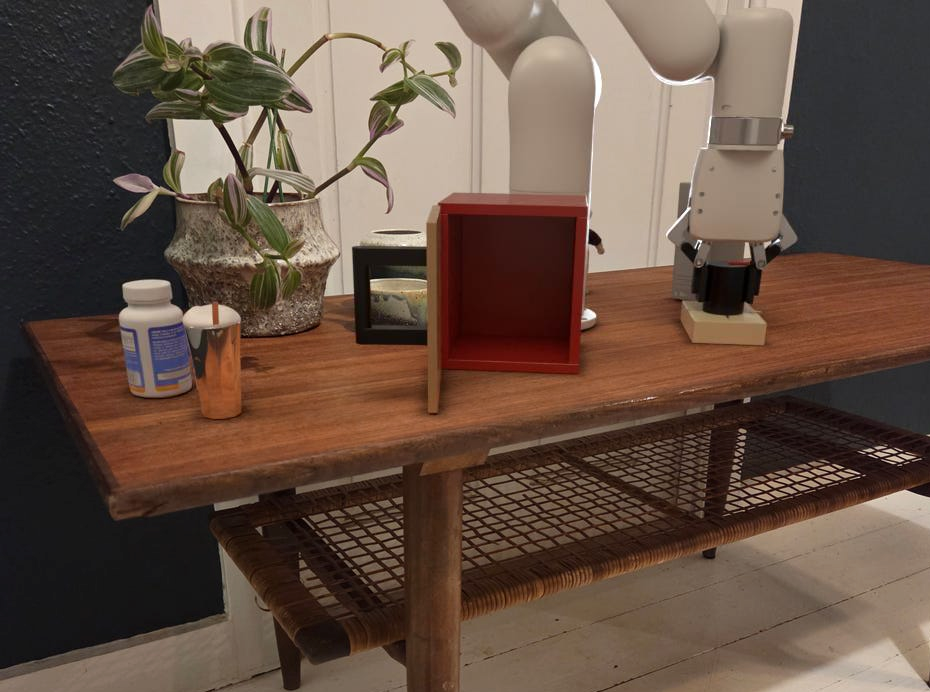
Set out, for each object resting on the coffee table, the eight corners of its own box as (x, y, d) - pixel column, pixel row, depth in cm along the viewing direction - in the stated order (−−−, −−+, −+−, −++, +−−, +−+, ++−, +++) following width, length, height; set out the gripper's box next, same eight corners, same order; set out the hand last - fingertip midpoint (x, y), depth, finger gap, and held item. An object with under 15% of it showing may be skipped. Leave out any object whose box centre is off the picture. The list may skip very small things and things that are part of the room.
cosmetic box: (707, 306, 119) (721, 183, 113) (665, 298, 124) (676, 180, 118) (742, 299, 125) (757, 181, 119) (700, 291, 130) (713, 178, 123)
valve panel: (676, 320, 111) (678, 299, 110) (748, 322, 110) (751, 301, 109) (687, 342, 100) (690, 319, 99) (768, 345, 99) (771, 322, 98)
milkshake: (198, 427, 71) (184, 304, 67) (190, 408, 76) (176, 291, 72) (255, 421, 73) (244, 300, 69) (244, 403, 77) (233, 288, 74)
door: (355, 412, 75) (346, 221, 69) (371, 368, 88) (365, 204, 82) (437, 413, 75) (436, 222, 69) (441, 369, 88) (440, 205, 82)
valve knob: (704, 314, 102) (710, 263, 100) (698, 306, 107) (704, 257, 104) (746, 315, 102) (753, 264, 100) (739, 307, 106) (745, 258, 104)
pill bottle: (199, 382, 83) (187, 278, 79) (183, 399, 78) (169, 289, 74) (140, 382, 83) (126, 277, 79) (121, 399, 78) (104, 288, 74)
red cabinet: (578, 374, 87) (588, 206, 81) (438, 368, 89) (437, 202, 82) (577, 345, 98) (586, 195, 92) (453, 340, 100) (453, 192, 93)
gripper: (814, 136, 100) (790, 297, 107) (662, 133, 101) (648, 293, 108) (832, 137, 93) (805, 310, 100) (668, 135, 94) (653, 305, 101)
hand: (723, 299), depth 104 cm, fingers closed on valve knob, 4 cm apart
